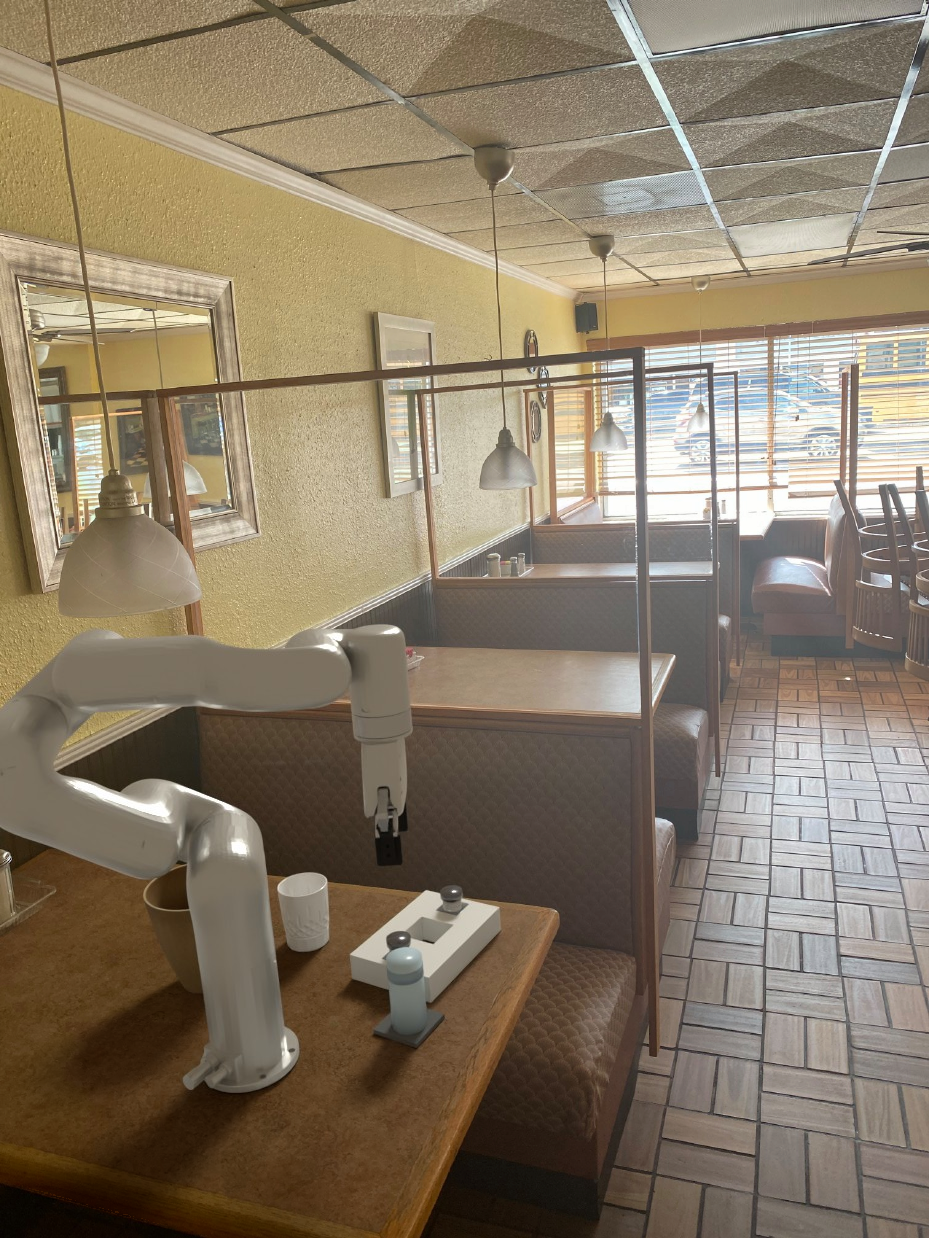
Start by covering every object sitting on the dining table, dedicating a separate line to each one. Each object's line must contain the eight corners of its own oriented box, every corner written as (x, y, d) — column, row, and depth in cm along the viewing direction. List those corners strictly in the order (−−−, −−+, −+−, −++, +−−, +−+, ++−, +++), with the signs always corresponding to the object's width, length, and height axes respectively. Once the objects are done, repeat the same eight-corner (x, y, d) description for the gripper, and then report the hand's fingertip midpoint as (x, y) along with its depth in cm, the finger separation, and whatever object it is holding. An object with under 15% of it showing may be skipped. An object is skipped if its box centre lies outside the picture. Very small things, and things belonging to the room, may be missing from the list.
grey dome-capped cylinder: (404, 983, 134) (401, 946, 132) (384, 977, 135) (381, 940, 134) (418, 970, 137) (415, 934, 135) (398, 964, 138) (395, 928, 137)
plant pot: (136, 996, 136) (120, 898, 133) (206, 944, 149) (194, 853, 146) (211, 1020, 129) (197, 917, 126) (278, 964, 142) (267, 869, 139)
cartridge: (390, 1035, 123) (384, 968, 121) (393, 1013, 127) (387, 948, 125) (427, 1033, 123) (421, 966, 120) (428, 1010, 127) (423, 945, 125)
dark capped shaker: (457, 932, 146) (455, 898, 145) (438, 927, 148) (435, 893, 147) (468, 921, 149) (466, 887, 148) (450, 916, 151) (447, 883, 150)
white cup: (338, 927, 152) (332, 871, 150) (326, 954, 144) (320, 896, 142) (291, 927, 153) (285, 872, 151) (277, 954, 145) (270, 896, 143)
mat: (416, 1047, 121) (416, 1043, 121) (373, 1033, 124) (373, 1029, 124) (444, 1017, 127) (444, 1013, 126) (402, 1004, 130) (402, 1000, 130)
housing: (431, 1002, 130) (428, 977, 129) (352, 978, 137) (349, 954, 136) (500, 929, 148) (499, 907, 147) (427, 911, 155) (426, 889, 154)
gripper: (361, 704, 125) (371, 821, 129) (343, 747, 108) (356, 880, 112) (415, 700, 125) (425, 818, 129) (407, 743, 108) (418, 877, 112)
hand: (393, 847), depth 120 cm, fingers open, 9 cm apart
